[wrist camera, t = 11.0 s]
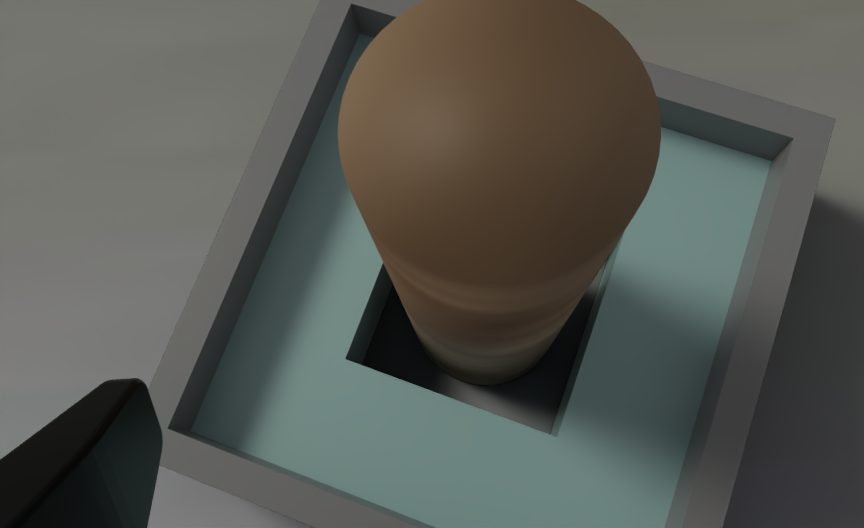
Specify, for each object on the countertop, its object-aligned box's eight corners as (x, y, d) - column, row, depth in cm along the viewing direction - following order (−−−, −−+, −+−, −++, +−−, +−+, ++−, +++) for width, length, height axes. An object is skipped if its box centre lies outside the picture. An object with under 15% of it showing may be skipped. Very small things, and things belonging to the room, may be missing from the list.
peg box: (775, 176, 23) (835, 118, 19) (643, 634, 20) (681, 675, 17) (356, 45, 25) (333, -32, 21) (184, 451, 22) (121, 450, 18)
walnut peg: (575, 271, 23) (700, 33, 10) (530, 406, 22) (604, 329, 9) (443, 226, 23) (404, -53, 11) (393, 356, 22) (288, 220, 10)
